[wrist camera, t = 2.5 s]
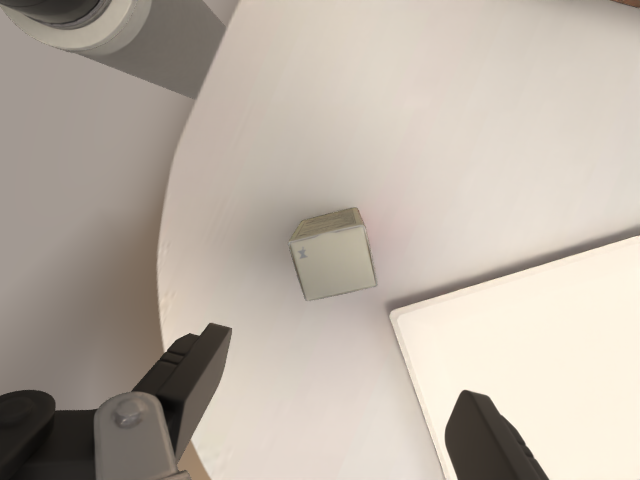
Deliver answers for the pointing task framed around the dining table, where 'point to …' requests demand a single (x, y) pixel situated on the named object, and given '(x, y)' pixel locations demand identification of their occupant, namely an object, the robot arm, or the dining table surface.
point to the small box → (332, 255)
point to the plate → (540, 359)
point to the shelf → (629, 2)
